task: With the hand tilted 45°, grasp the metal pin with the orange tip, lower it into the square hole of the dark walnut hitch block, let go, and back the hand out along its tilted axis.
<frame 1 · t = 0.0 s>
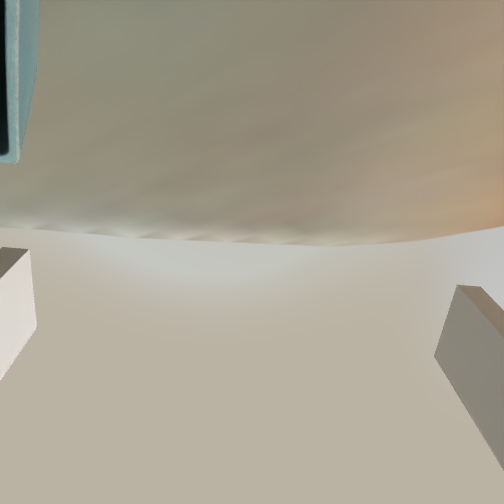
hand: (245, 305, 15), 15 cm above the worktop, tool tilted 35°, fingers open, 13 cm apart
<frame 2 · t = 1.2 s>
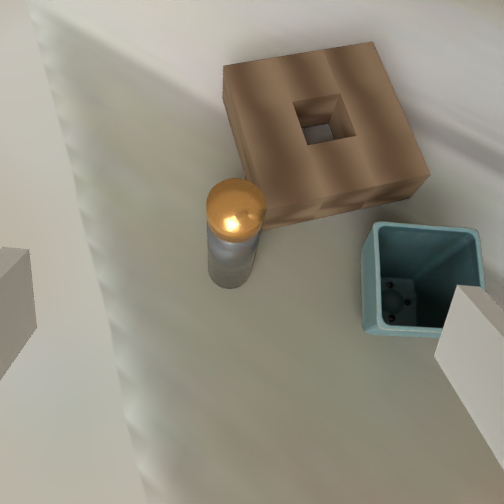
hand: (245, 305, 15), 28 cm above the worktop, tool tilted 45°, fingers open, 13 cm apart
flower pot: (389, 303, 45), on the worktop
hitch block: (313, 147, 50), on the worktop
metal pin: (229, 268, 45), on the worktop
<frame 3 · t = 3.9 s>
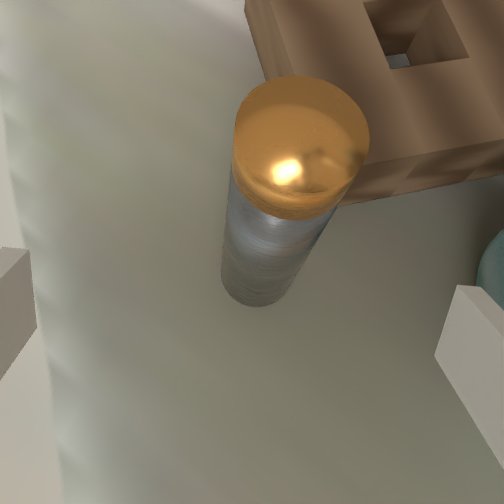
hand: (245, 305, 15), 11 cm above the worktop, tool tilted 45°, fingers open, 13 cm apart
hitch block: (385, 86, 32), on the worktop
metal pin: (256, 272, 27), on the worktop
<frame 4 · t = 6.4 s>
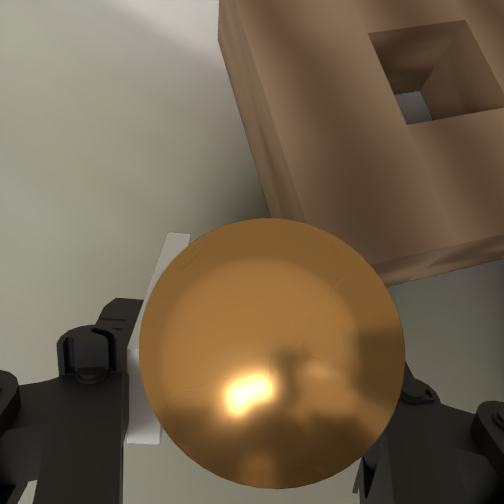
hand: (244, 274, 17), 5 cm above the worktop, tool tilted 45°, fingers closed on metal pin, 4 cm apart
hitch block: (395, 134, 26), on the worktop
metal pin: (229, 396, 20), on the worktop, touching gripper
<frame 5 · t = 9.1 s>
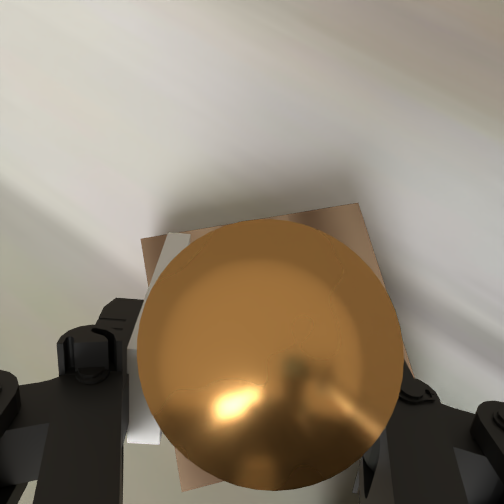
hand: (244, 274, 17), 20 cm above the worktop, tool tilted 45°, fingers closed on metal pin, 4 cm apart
hitch block: (269, 341, 36), on the worktop
metal pin: (228, 396, 20), point 15 cm above the worktop, touching gripper
when the fingers open (7 cm above the worktop, at t = 12.1 s): metal pin drops 1 cm, resting in hitch block.
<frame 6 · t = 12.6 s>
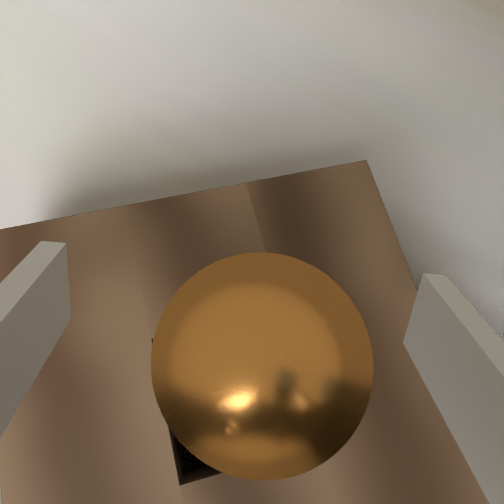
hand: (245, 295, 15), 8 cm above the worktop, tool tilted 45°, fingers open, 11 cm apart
hitch block: (227, 398, 22), on the worktop
metal pin: (228, 399, 22), resting in hitch block
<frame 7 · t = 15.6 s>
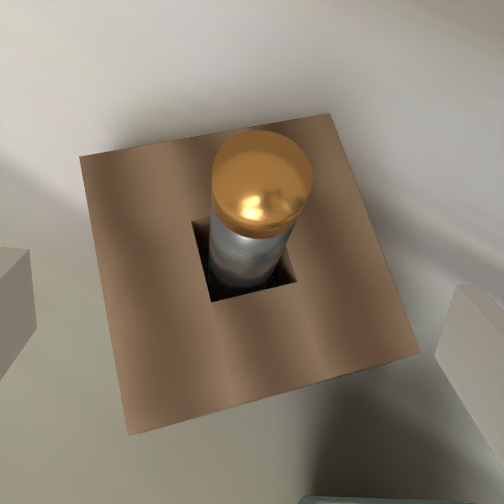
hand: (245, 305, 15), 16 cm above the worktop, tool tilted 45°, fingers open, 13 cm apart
hitch block: (237, 276, 32), on the worktop
metal pin: (237, 277, 32), resting in hitch block
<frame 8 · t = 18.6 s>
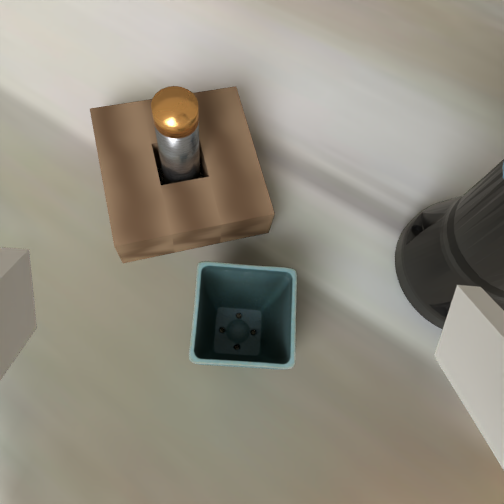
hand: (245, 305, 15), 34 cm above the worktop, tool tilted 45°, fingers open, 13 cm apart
flower pot: (238, 333, 48), on the worktop
hitch block: (182, 183, 53), on the worktop
metal pin: (182, 183, 53), resting in hitch block
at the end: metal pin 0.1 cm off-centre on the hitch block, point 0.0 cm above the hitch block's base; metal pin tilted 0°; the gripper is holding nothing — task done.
